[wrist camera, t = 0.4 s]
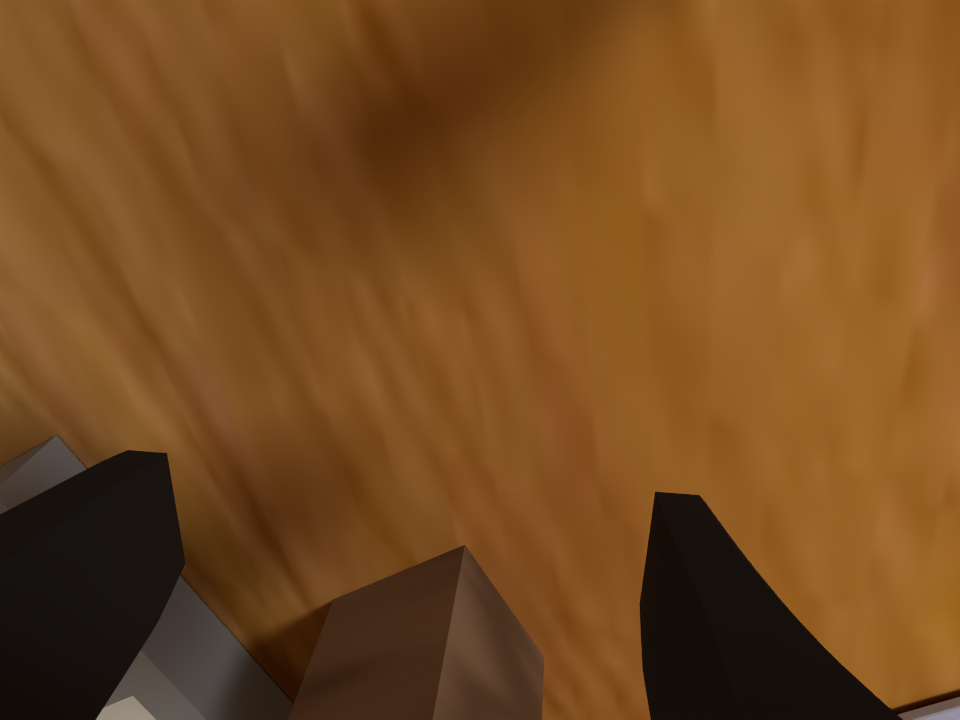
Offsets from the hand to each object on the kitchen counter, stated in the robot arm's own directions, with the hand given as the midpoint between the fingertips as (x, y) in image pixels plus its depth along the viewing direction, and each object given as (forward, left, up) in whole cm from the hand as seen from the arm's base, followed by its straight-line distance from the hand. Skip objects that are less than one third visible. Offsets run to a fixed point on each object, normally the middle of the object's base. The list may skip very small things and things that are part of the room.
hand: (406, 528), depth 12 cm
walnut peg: (-9, +7, -10) cm, 16 cm away
